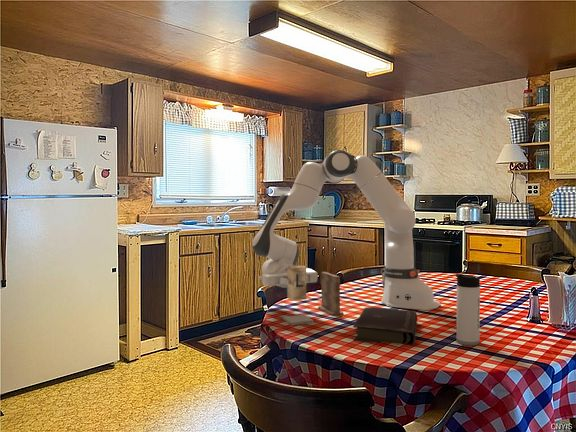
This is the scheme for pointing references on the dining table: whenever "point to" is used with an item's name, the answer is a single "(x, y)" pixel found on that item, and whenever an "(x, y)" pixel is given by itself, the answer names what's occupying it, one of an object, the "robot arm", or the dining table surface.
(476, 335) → the travel mug
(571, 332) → the dining table surface
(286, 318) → the slate coaster
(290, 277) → the tan boxy piece
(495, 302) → the dining table surface
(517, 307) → the dining table surface
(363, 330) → the diary
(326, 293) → the screen
